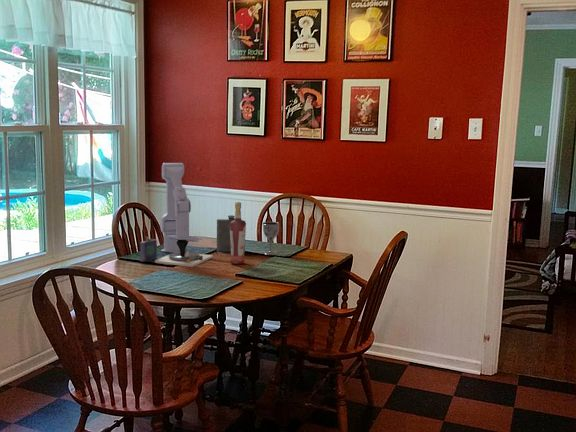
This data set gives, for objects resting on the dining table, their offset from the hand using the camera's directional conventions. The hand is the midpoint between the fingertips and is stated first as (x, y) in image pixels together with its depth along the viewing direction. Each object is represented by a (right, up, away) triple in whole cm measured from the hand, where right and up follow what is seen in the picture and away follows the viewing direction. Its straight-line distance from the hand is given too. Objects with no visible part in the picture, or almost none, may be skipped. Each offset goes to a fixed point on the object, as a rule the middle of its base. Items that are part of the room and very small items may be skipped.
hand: (182, 256), depth 276 cm
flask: (+20, 0, +25) cm, 32 cm away
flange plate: (0, -1, +5) cm, 5 cm away
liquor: (+25, -4, +1) cm, 25 cm away
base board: (0, -2, +6) cm, 6 cm away
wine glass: (+39, 0, +23) cm, 46 cm away
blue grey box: (-17, -2, +5) cm, 17 cm away
